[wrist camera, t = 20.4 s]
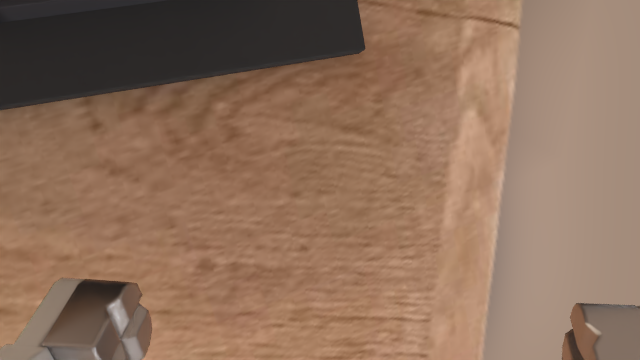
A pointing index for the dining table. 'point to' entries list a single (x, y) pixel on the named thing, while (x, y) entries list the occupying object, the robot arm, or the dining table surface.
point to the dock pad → (159, 42)
